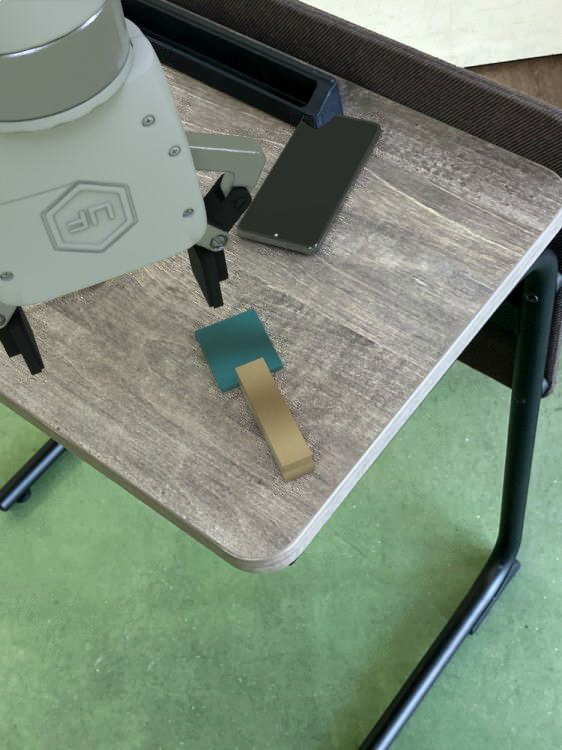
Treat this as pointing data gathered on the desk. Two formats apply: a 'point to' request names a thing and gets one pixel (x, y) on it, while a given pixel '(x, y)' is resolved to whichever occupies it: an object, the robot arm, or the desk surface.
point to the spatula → (256, 385)
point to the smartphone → (309, 183)
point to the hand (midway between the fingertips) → (121, 320)
